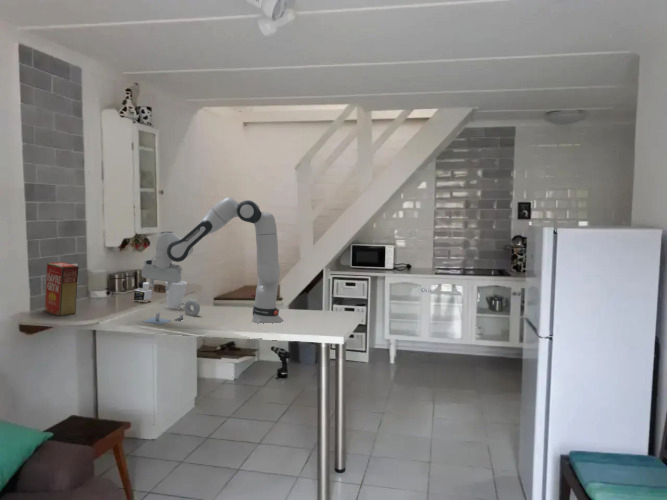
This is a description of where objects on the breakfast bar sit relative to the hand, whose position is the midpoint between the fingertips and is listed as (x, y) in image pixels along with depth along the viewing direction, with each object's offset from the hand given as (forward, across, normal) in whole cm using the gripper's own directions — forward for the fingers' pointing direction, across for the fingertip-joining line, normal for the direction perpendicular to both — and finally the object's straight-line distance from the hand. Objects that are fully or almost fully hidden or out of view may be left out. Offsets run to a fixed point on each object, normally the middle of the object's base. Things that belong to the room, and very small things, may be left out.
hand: (160, 288), depth 254 cm
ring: (+1, 0, 0) cm, 1 cm away
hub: (+18, 0, 0) cm, 18 cm away
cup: (+18, +6, -32) cm, 37 cm away
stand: (+18, -9, -9) cm, 22 cm away
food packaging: (+19, +48, +8) cm, 53 cm away
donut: (+18, -9, -22) cm, 30 cm away
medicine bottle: (+18, +29, -38) cm, 51 cm away
